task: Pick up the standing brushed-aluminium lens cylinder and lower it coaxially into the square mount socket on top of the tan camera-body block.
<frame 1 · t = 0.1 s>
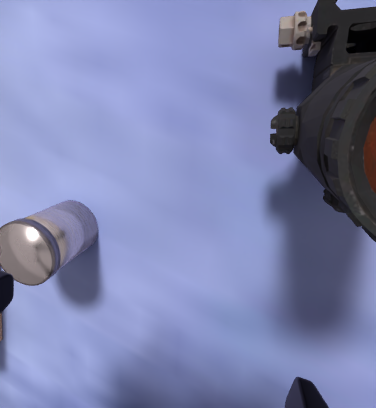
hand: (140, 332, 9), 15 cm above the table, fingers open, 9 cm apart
lens: (74, 225, 26), on the table
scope: (335, 110, 19), on the table
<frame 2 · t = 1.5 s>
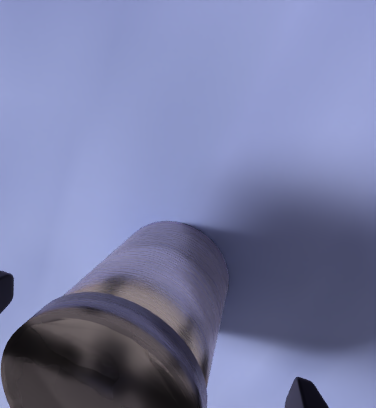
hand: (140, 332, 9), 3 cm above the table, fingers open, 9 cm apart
lens: (172, 274, 12), on the table
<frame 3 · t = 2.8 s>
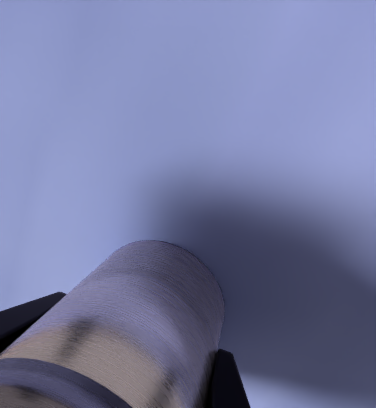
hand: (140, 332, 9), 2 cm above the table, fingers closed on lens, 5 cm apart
lens: (157, 302, 10), on the table, touching gripper
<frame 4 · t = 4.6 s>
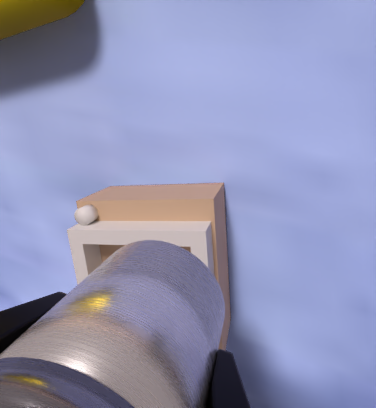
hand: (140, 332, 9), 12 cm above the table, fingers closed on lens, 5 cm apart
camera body: (171, 253, 21), on the table
lens: (158, 302, 10), point 10 cm above the table, touching gripper
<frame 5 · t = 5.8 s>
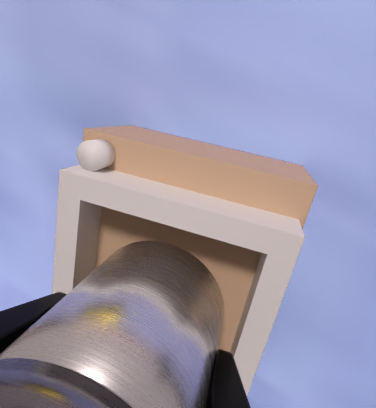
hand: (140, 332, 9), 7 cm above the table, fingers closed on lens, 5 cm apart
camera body: (190, 242, 15), on the table
lens: (157, 302, 10), point 5 cm above the table, touching gripper
when the fingers open (6 cm above the table, at t = 6.6 s): lens stays where it is, resting on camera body.
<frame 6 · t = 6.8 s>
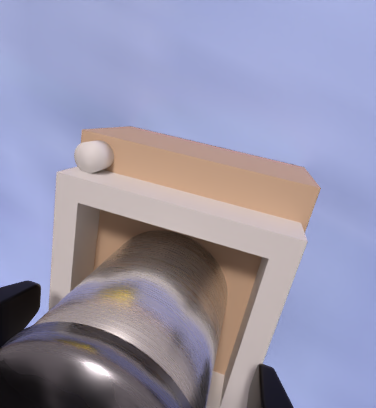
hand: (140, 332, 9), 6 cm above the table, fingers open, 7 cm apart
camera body: (190, 244, 15), on the table
lens: (166, 287, 11), point 4 cm above the table, touching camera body
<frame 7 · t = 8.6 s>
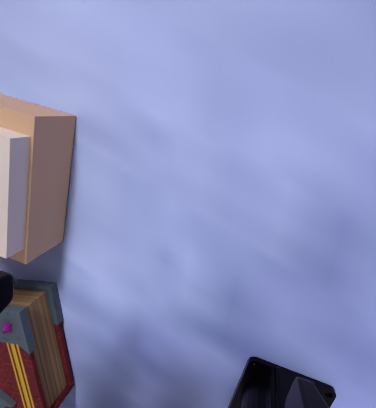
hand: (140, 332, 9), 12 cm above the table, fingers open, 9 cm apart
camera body: (23, 168, 23), on the table
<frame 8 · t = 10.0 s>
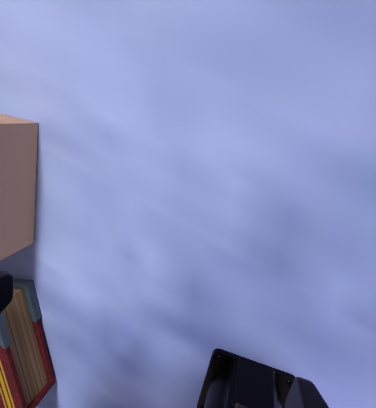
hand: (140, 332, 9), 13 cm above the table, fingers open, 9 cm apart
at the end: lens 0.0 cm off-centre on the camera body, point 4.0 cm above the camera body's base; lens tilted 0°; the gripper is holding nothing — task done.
